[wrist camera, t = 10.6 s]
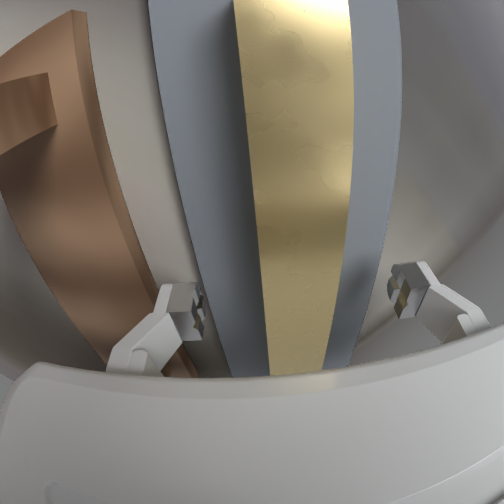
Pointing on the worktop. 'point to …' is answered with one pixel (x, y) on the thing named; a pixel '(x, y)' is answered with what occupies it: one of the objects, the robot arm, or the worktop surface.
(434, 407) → the robot arm
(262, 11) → the brass rail
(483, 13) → the worktop surface
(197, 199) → the slate mat
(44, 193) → the stand
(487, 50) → the worktop surface
